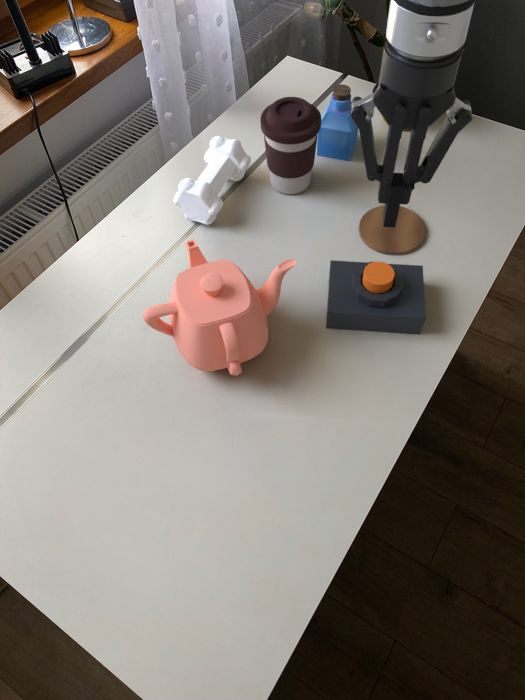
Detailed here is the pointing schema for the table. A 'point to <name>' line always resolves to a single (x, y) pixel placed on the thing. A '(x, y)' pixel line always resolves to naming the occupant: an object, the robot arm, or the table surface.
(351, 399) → the table surface
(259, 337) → the teapot
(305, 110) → the coffee cup
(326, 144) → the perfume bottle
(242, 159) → the bone shaped toy
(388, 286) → the orange push button
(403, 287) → the push button box
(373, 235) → the coaster
